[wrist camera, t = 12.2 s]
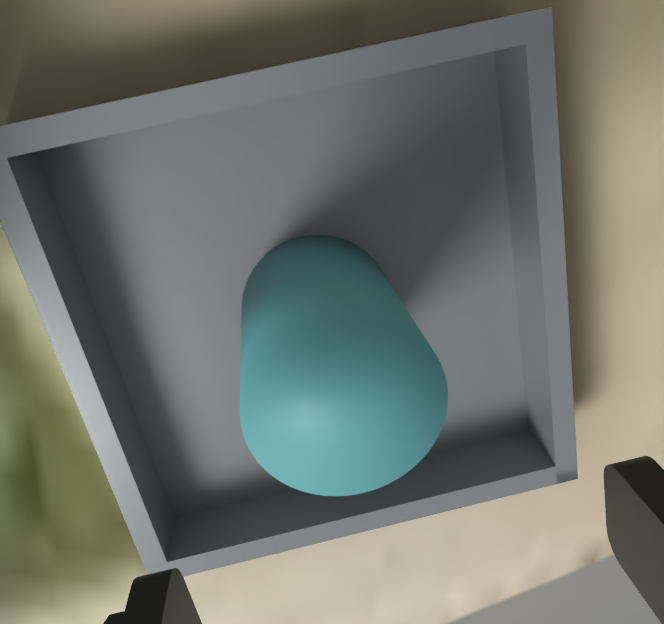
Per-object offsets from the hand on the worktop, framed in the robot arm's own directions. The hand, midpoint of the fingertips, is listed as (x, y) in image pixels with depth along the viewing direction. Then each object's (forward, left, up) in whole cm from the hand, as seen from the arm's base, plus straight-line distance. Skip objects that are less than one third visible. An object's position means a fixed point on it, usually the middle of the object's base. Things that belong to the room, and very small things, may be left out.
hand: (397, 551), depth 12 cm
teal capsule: (0, -1, -11) cm, 11 cm away
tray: (0, -1, -12) cm, 12 cm away
